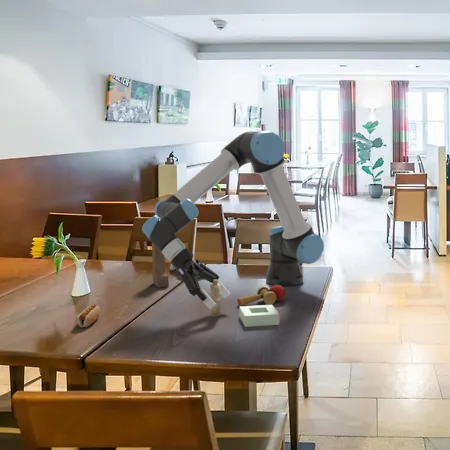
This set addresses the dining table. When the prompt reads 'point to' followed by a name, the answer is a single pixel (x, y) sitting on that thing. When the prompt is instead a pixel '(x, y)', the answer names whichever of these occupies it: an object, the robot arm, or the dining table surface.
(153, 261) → the wooden block
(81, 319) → the food
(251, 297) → the kendama
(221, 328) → the dining table surface
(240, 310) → the peg hole block
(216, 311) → the beige bottle
